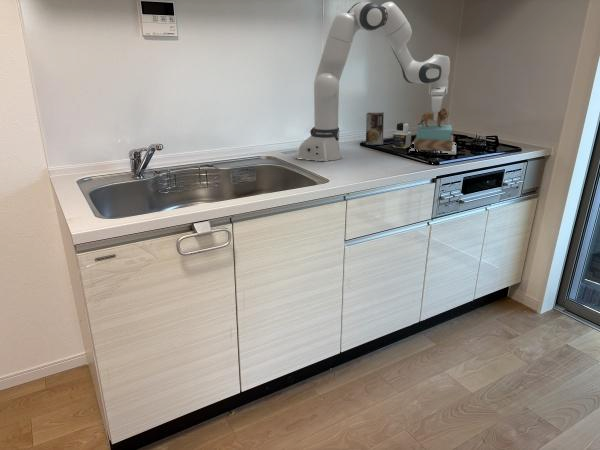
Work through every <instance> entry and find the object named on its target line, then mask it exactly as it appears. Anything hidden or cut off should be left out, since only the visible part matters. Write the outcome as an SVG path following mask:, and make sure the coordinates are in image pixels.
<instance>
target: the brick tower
mask: <svg viewBox="0 0 600 450" xmlns="http://www.w3.org/2000/svg"><path fill="white" fill-rule="evenodd" d="M427 125H428V126H429V127H426V125H425V124H424V125H421V124H420V125H418V127H417V130H416V131H417V133H416V135H415V138H414V140H413V141H412V143H411V145H412V144H414V148H411V147H410V148H411V149H410V148H409V150H408V153H410V151H415V149H416V151H417V152H418V150H419V151H420V150H440V151H442V153H448V154H447V155H457V144H456V142H455V141H454V134H452V133H453V132H452V131H453V124H452V125H451V124H440V126H441V127H439V126H437V124H427ZM455 144H456V145H455Z"/></svg>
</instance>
